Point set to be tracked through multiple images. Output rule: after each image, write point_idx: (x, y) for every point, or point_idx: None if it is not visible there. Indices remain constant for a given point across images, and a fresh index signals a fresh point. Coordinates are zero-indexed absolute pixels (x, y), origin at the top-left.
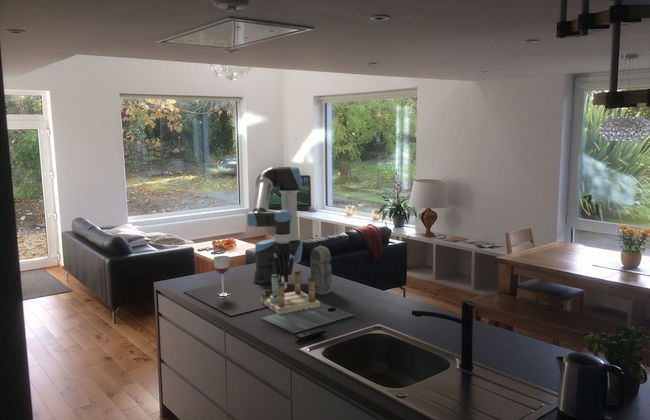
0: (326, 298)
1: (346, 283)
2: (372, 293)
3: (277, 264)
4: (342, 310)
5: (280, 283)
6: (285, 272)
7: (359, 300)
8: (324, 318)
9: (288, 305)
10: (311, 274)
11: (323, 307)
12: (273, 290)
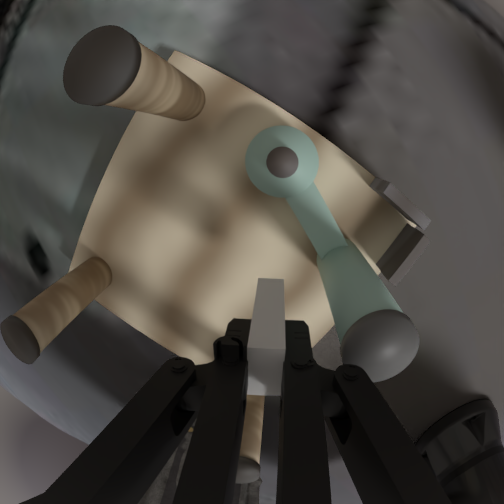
0: (135, 373)
1: None
2: (76, 426)
3: (375, 480)
4: (14, 263)
5: (99, 60)
6: (211, 386)
7: (50, 372)
8: (8, 150)
9: (156, 139)
10: (238, 487)
11: (68, 267)
12: (350, 253)
